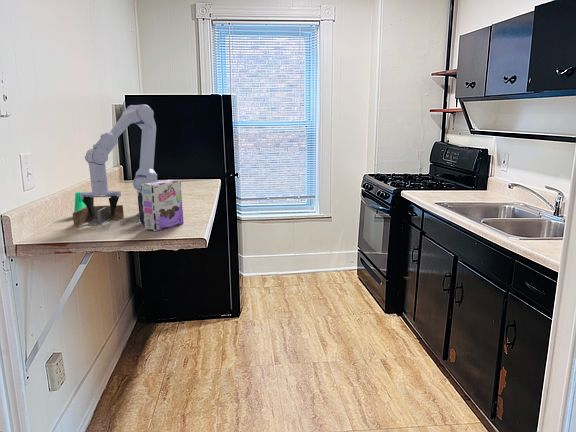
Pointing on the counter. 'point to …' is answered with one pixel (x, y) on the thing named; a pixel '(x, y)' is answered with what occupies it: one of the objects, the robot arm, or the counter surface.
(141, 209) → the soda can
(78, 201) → the camera mount
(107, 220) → the pad
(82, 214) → the corner walls
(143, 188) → the candy box
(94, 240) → the counter surface
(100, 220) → the bracket
